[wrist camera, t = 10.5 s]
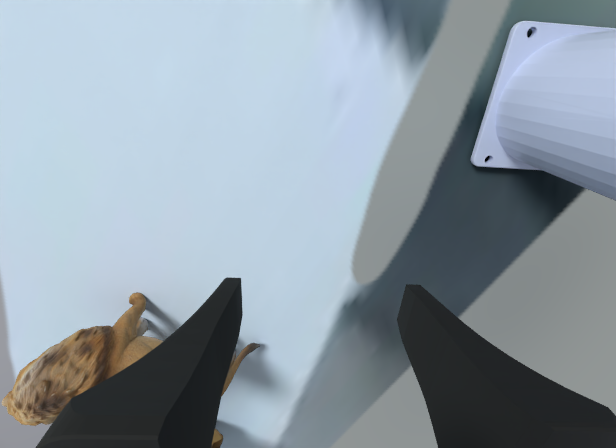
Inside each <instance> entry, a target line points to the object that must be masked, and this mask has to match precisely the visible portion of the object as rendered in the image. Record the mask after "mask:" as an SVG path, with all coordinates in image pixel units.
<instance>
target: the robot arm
mask: <svg viewBox="0 0 616 448" xmlns="http://www.w3.org/2000/svg"><path fill="white" fill-rule="evenodd" d="M530 28H531V30H532V34H531V36H530V37H529V38H528V37H527V31H528V30H529V29H530ZM487 156H490V158H489V160H488V161H487V162H485V158H486V157H487ZM471 162H472V164H474V165H475V166H478V167H495V168H512V169H529V170H543V171H545V172H548V173H550V174H552V175H555V176H557V177H560V178H562V179H565V180H567V181H569V182H572V183H574V184H577V185H579V186H582V187H584V188H586V189H589V190H592V191H594V192H596V193H599V194H601V195H604V196H606V197H608V198H611V199H613V200H615V201H616V28H604V27H592V26H581V25H569V24H557V23H545V22H533V21H522V22H518V23H517V24H515V25H514V26H513V27H512V29H511V31H510V34H509V37H508V40H507V44H506V47H505V50H504V53H503V56H502V60H501V63H500V66H499V69H498V73H497V76H496V79H495V82H494V85H493V89H492V92H491V95H490V98H489V101H488V105H487V108H486V111H485V114H484V118H483V121H482V124H481V127H480V130H479V134H478V137H477V140H476V143H475V147H474V150H473V153H472V156H471ZM241 320H242V293H241V278H225V279H224V280H223V282H222V283H221V284H220V285H219V287H218V288H217V289H216V290H215V291H214V293H213V294H212V295H211V296H210V297H209V298H208V299H207V300H206V302H205V303H204V304H203V305H202V306H201V307H200V308H199V309H198V310H197V311H196V312H195V313H194V314H193V315H192V316H191V317H190V318H189V319H188V320H187V321H186V322H185V323H184V324H183V325H182V326H181V327H180V328H179V329H177V330H176V331H175V332H174V333H173V334H172V335H171V336H169V337H168V338H167V339H166V340H165V341H163V342H162V343H161V344H159V345H158V346H157V347H155V348H154V349H153V350H151V351H150V352H149V353H147V354H146V355H144V356H143V357H142V358H140V359H139V360H137V361H136V362H134V363H133V364H131V365H130V366H128V367H127V368H125V369H123V370H122V371H120V372H118V373H117V374H115V375H113V376H112V377H110V378H108V379H107V380H105V381H103V382H101V383H99V384H97V385H96V386H94V387H92V388H90V389H88V390H86V391H84V392H83V393H81V394H79V395H77V396H75V397H73V398H71V400H70V401H69V402H68V403H67V405H66V406H65V407H64V408H63V410H62V411H61V412H60V413H59V415H58V416H57V418H56V419H55V420H54V422H53V423H52V425H51V426H50V428H49V429H48V431H47V432H46V433H45V435H44V436H43V438H42V439H41V441H40V442H39V444H38V445H37V446H36V448H211V446H212V441H213V435H214V430H215V425H216V420H217V415H218V410H219V405H220V400H221V395H222V392H223V388H224V384H225V381H226V377H227V374H228V371H229V367H230V364H231V361H232V357H233V354H234V351H235V347H236V344H237V340H238V337H239V332H240V326H241ZM397 322H398V326H399V330H400V334H401V338H402V342H403V344H404V347H405V349H406V352H407V355H408V357H409V360H410V362H411V365H412V367H413V370H414V372H415V375H416V377H417V380H418V382H419V385H420V387H421V390H422V393H423V395H424V398H425V401H426V404H427V408H428V412H429V415H430V419H431V422H432V426H433V429H434V433H435V437H436V441H437V444H438V448H616V416H615V415H614V413H613V412H612V411H611V410H610V409H609V408H608V407H606V406H604V405H602V404H600V403H597V402H595V401H593V400H591V399H588V398H586V397H584V396H582V395H580V394H578V393H576V392H573V391H571V390H569V389H567V388H565V387H563V386H561V385H559V384H558V383H556V382H554V381H552V380H550V379H548V378H546V377H544V376H542V375H541V374H539V373H537V372H535V371H533V370H532V369H530V368H528V367H527V366H525V365H523V364H522V363H520V362H518V361H517V360H515V359H513V358H512V357H510V356H508V355H507V354H506V353H504V352H503V351H501V350H500V349H498V348H497V347H495V346H494V345H492V344H491V343H489V342H488V341H487V340H485V339H484V338H482V337H481V336H480V335H478V334H477V333H476V332H474V331H473V330H472V329H471V328H469V327H468V326H467V325H466V324H464V323H463V322H462V321H461V320H460V319H458V318H457V317H456V316H455V315H454V314H453V313H451V312H450V311H449V310H448V309H447V308H446V307H445V306H443V305H442V304H441V303H440V302H439V301H438V300H437V299H436V298H434V297H433V296H432V295H431V294H430V293H429V292H428V291H427V290H425V289H424V288H423V287H422V286H421V285H407V284H406V287H405V291H404V295H403V299H402V303H401V306H400V310H399V314H398V318H397Z"/></svg>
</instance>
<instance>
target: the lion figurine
mask: <svg viewBox="0 0 616 448" xmlns="http://www.w3.org/2000/svg"><path fill="white" fill-rule="evenodd" d="M129 303H130V304H133V306H132V307H131V308H130V309H129V310H128V311H126V312H125V313H124V314H123V315H122V316H121V317H120V318H119V319H118V321H117V322H116V323H115V325H114V326H113V327H111V326H95V327H91V328H88V329H81V330H79V331H77V332H76V333H74V334H72V335H71V336H69V337H68V338H66V339H64V340H63V341H62V342H60V343H59V344H56V345H54V346H52V347H50V348H49V349H47V350H46V351H45V352H44V353H43V354H41V355H40V356H39V357H38V358H37V359H35V360H33V361H32V362H30V363H29V364H28V365H27V366H26V367H24V368H23V369H22V370H21V371H20V372H19V374H18V376H17V379H16V382H15V385H14V387H13V390H12V391H10V392H9V393H8V394H7V396H6V397H5V398H4V399H3V401H2V405H3V406H6V407H7V410H8V414H10V415H12V416H14V417H15V419H16V420H17V421H19V422H20V423H21V424H24V425H33V426H36V425H38V424H40V423H43V424H46V425H47V424H51V423H53V422H54V420H55V419H56V418H57V416H58V415H59V413H60V412H61V411H62V410H63V408H64V407H65V406H66V405H67V403H68V402H69V401H70V400H71V398H73V397H75V396H77V395H79V394H81V393H83V392H84V391H86V390H88V389H90V388H92V387H94V386H96V385H97V384H99V383H101V382H103V381H105V380H107V379H108V378H110V377H112V376H113V375H115V374H117V373H118V372H120V371H122V370H123V369H125V368H127V367H128V366H130V365H131V364H133V363H134V362H136V361H137V360H139V359H140V358H142V357H143V356H144V355H146V354H147V353H149V352H150V351H151V350H153V349H154V348H155V347H157V346H158V345H159V344H161V343H162V342H163V341H162V340H159V339H156V338H152V337H146V336H142V335H143V334H144V333H145V332H146V330H147V329H148V326H147V325H148V322H147V320H146V319H144V318H141V315H142V313H143V312H144V311H145V306H146V299H145V297H144V296H143V295H142V294H141V293H133V294H132V295H131V296H130V298H129ZM259 346H260V345H259V344H256V343H251V344H249V345H247V347H245V348H244V349H243V350H242V351H241V353H240V354H239V355H238V357H237V358H236V351H234V354H233V357H232V361H231V364H230V367H229V371H228V374H227V377H226V381H225V384H224V388H223V392H222V395H223V394H224V392H225V391H226V389H227V388H228V386H229V384H230V382H231V380H232V378H233V376H234V374H235V373H236V371H237V368H238V366H239V364H240V363H241V361H242V360H243V359H244V357H245V356H246V355H247V354H249V353H250V352H252V351H254V350H255V349H256V348H258V347H259ZM235 358H236V360H235ZM234 360H235V361H234ZM222 395H221V396H222Z"/></svg>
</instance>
